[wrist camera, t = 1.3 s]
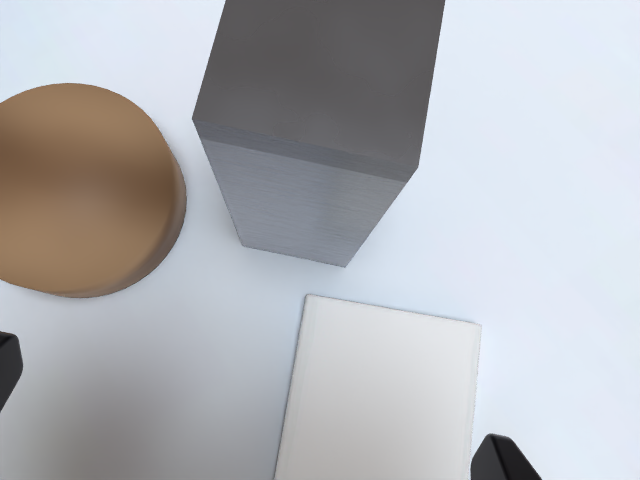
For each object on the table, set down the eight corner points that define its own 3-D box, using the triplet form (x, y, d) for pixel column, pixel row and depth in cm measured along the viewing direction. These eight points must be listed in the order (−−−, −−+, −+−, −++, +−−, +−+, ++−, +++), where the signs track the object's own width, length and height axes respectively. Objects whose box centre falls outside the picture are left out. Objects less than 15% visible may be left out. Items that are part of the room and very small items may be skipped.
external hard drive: (471, 326, 24) (443, 617, 21) (305, 297, 23) (254, 587, 20) (484, 324, 22) (457, 639, 19) (306, 292, 22) (251, 607, 19)
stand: (157, 316, 22) (137, 310, 19) (-40, 275, 22) (-90, 264, 19) (206, 137, 24) (196, 107, 21) (27, 98, 24) (-9, 63, 21)
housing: (345, 267, 23) (417, 167, 11) (242, 245, 23) (191, 118, 10) (363, 171, 24) (448, -23, 12) (265, 150, 24) (245, -69, 12)
